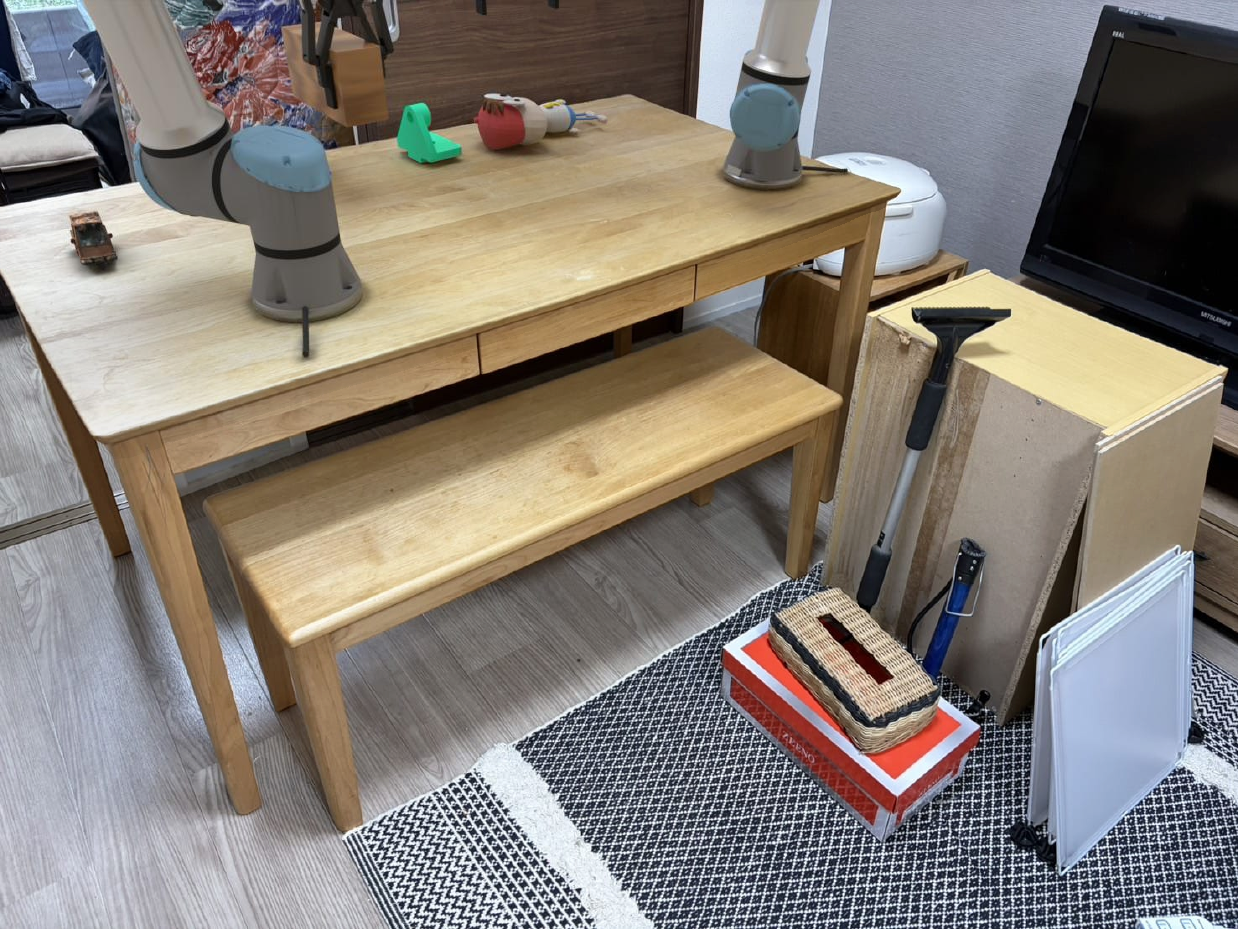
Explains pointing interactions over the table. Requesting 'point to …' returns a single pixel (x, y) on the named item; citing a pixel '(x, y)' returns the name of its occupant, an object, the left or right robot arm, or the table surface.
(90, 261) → the toy car
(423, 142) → the camera mount
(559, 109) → the toy
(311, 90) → the box
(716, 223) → the table surface
